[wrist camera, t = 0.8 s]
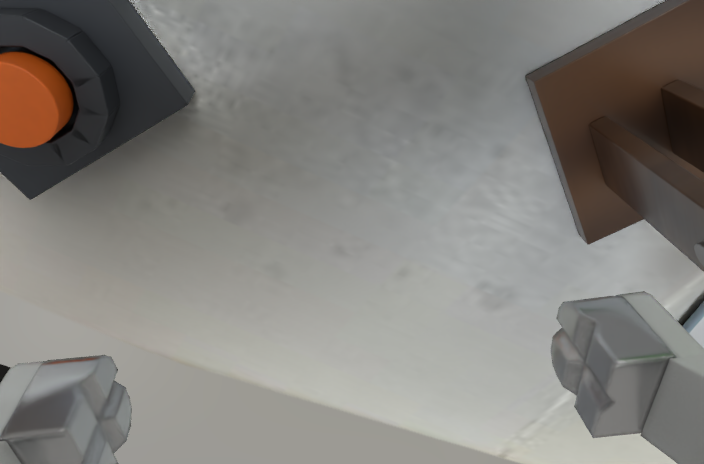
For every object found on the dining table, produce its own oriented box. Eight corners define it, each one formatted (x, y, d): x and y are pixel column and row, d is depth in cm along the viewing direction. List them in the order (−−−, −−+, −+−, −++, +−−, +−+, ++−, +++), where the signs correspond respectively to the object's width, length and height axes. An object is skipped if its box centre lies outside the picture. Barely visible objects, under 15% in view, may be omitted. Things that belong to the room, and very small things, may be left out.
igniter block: (47, 181, 28) (13, 218, 24) (-86, 50, 24) (-148, 73, 20) (195, 91, 26) (180, 118, 23) (79, -68, 22) (39, -64, 18)
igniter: (31, 147, 23) (13, 163, 22) (-37, 78, 21) (-62, 91, 20) (92, 108, 22) (77, 122, 21) (27, 34, 21) (6, 43, 19)
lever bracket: (717, 171, 32) (933, 305, 21) (579, 235, 33) (714, 389, 22) (692, -14, 25) (982, 41, 15) (524, 75, 27) (674, 184, 16)
